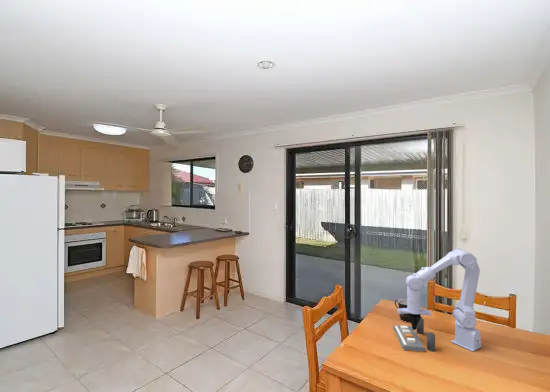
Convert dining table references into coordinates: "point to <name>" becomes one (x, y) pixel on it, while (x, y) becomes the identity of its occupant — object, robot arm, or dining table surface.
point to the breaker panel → (408, 338)
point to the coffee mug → (403, 304)
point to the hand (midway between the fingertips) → (414, 328)
